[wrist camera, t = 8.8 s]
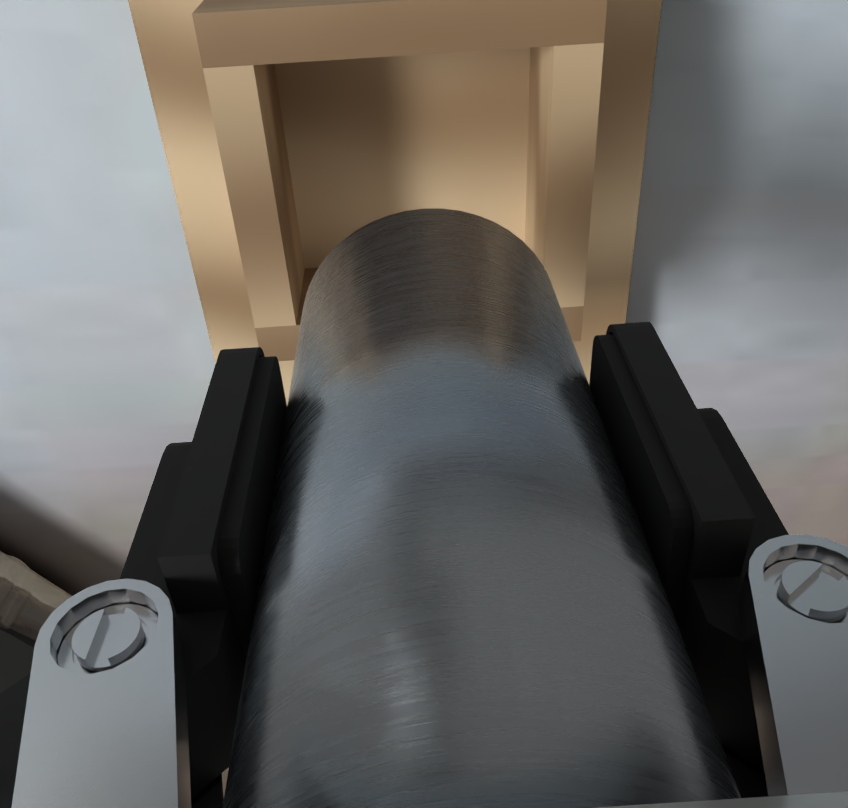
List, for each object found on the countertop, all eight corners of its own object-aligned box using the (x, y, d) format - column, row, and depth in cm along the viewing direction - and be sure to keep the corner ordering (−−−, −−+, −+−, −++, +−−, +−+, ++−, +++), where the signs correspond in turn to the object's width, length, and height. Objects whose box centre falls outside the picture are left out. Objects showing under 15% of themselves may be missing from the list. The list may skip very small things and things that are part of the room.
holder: (127, -68, 18) (70, -39, 15) (657, -101, 18) (720, -80, 15) (266, 531, 30) (251, 625, 26) (594, 508, 30) (622, 599, 26)
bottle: (284, 217, 13) (-32, 1504, 3) (564, 199, 13) (1153, 1418, 3) (318, 437, 15) (209, 1519, 6) (551, 423, 15) (848, 1471, 6)
